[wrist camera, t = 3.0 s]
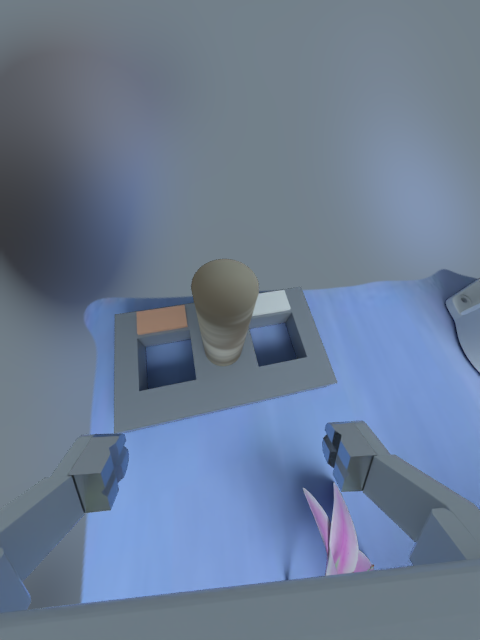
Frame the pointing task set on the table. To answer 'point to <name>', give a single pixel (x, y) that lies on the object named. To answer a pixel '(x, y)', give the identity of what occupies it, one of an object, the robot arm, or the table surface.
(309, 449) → the table surface
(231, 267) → the peg
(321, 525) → the lily
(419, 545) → the robot arm
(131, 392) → the socket deck
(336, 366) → the table surface
